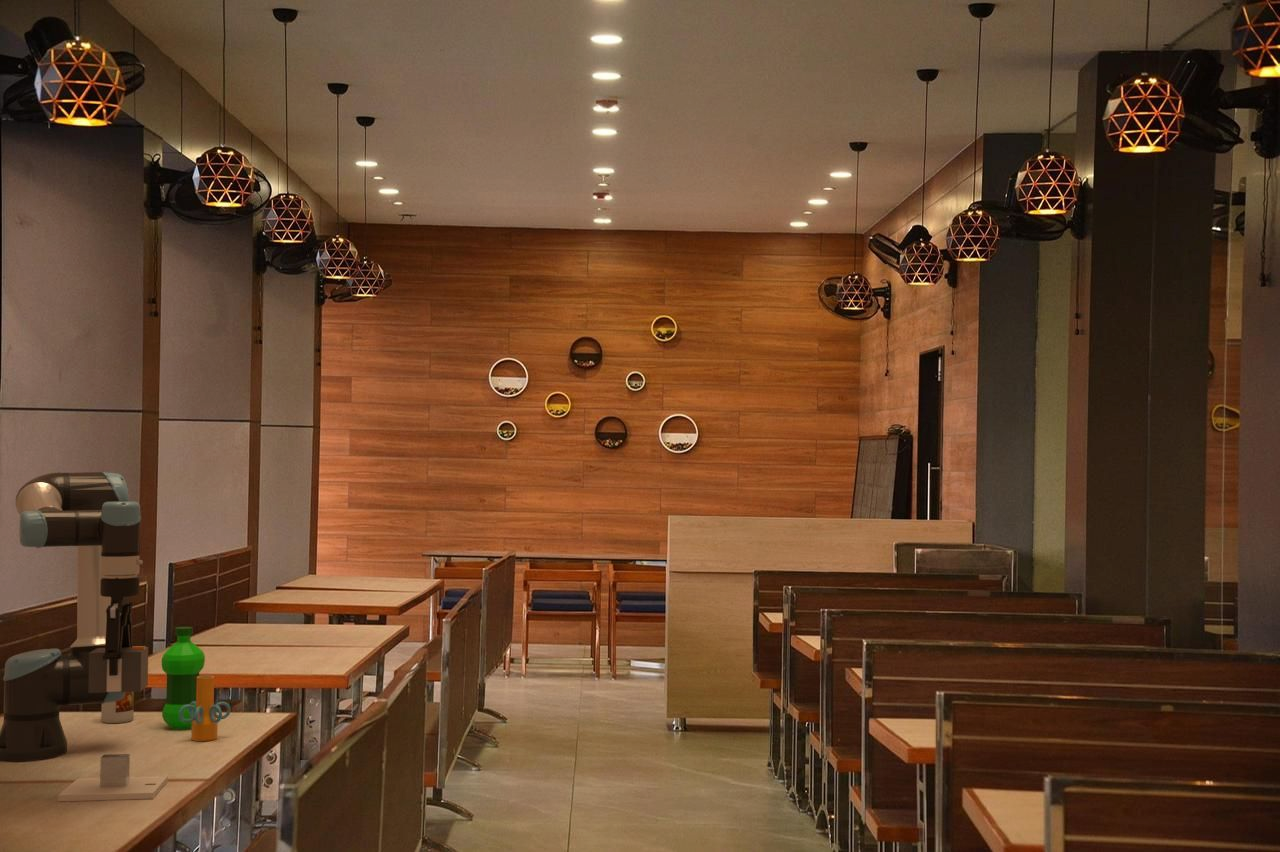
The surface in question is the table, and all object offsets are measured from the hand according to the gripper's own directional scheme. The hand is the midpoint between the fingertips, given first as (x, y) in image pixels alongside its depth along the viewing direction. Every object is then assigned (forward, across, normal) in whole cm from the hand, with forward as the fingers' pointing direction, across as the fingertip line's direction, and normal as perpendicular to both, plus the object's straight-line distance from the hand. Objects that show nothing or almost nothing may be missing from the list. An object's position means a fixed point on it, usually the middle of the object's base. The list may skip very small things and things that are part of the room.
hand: (118, 687), depth 275 cm
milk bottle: (+20, +74, +15) cm, 78 cm away
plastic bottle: (+20, +64, -3) cm, 67 cm away
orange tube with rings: (+20, +49, -10) cm, 54 cm away
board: (+21, -1, 0) cm, 21 cm away
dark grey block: (0, 0, 0) cm, 0 cm away
